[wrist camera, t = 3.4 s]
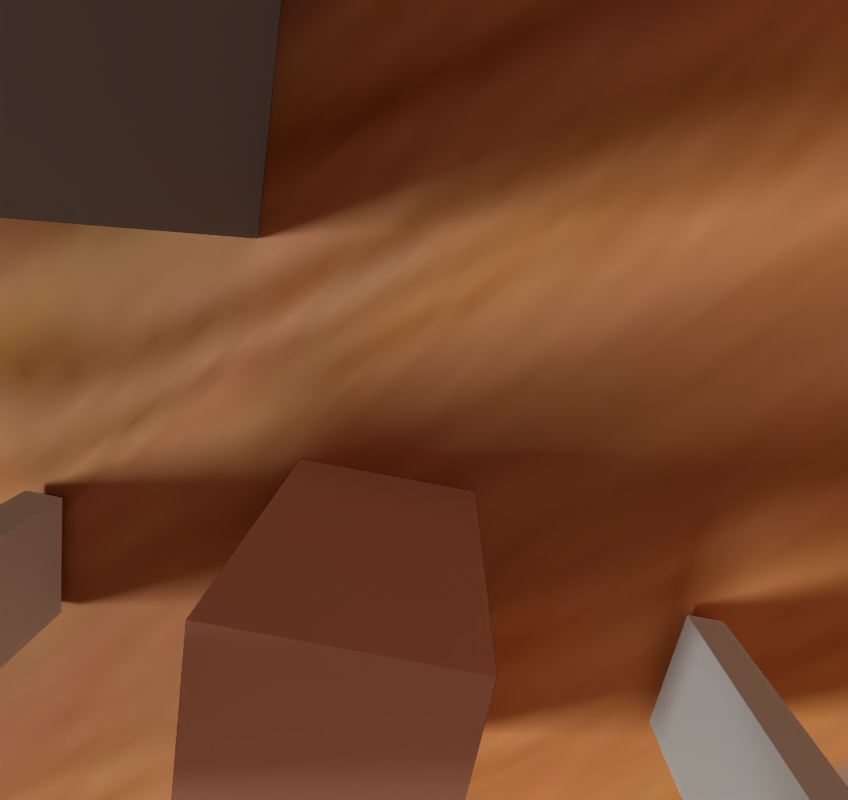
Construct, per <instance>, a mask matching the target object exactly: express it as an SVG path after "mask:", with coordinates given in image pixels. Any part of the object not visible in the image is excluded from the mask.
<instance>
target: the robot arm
mask: <svg viewBox="0 0 848 800" xmlns="http://www.w3.org/2000/svg"><path fill="white" fill-rule="evenodd" d="M61 566H62V498H61V497H56V496H51V495H45V494H40V493H35V492H29V491H24V492H22V493H20V494H19V495H17V496H15V497H13V498H11V499H10V500H8V501H6V502H4V503H2V504H1V505H0V668H1V667H2V666H3V665H4V664H6V663H7V662H8V661H9V660H10V659H11V658H12V657H13V656H14V655H15V654H16V653H17V652H19V651H20V650H21V649H22V648H23V647H24V646H25V645H26V644H27V643H28V642H29V641H30V640H32V639H33V638H34V637H35V636H36V635H37V634H38V633H39V632H40V631H41V630H42V629H44V628H45V627H46V626H47V625H48V624H49V623H50V622H51V621H52V620H53V619H54V618H55V617H57V616H58V615H59V614H60V613H61ZM649 723H650V726H651V728H652V730H653V733H654V735H655V737H656V740H657V742H658V744H659V747H660V749H661V751H662V754H663V756H664V758H665V761H666V763H667V765H668V768H669V770H670V772H671V775H672V777H673V779H674V782H675V784H676V786H677V789H678V791H679V793H680V796H681V798H682V800H848V787H847V785H846V784H845V783H844V781H843V780H842V779H841V777H840V776H839V775H838V773H837V772H836V771H835V769H834V768H833V767H832V765H831V764H830V763H829V761H828V760H827V759H826V757H825V756H824V755H823V753H822V752H821V751H820V749H819V748H818V746H817V745H816V744H815V742H814V741H813V740H812V738H811V737H810V736H809V734H808V733H807V732H806V730H805V729H804V728H803V726H802V725H801V724H800V722H799V721H798V720H797V718H796V717H795V716H794V714H793V713H792V712H791V710H790V709H789V708H788V706H787V705H786V704H785V702H784V701H783V700H782V698H781V697H780V696H779V694H778V693H777V692H776V690H775V689H774V688H773V686H772V685H771V684H770V682H769V681H768V680H767V678H766V677H765V676H764V674H763V673H762V672H761V670H760V669H759V668H758V666H757V665H756V664H755V662H754V661H753V660H752V658H751V657H750V656H749V654H748V653H747V652H746V650H745V649H744V648H743V646H742V645H741V644H740V642H739V641H738V640H737V638H736V637H735V636H734V634H733V633H732V632H731V630H730V629H729V628H728V626H727V625H726V624H725V622H723V621H718V620H713V619H707V618H702V617H697V616H691V615H687V617H686V620H685V623H684V626H683V628H682V631H681V634H680V637H679V640H678V642H677V645H676V648H675V651H674V654H673V656H672V659H671V662H670V665H669V668H668V670H667V673H666V676H665V679H664V682H663V684H662V687H661V690H660V693H659V696H658V698H657V701H656V704H655V707H654V710H653V712H652V715H651V718H650V721H649Z"/></svg>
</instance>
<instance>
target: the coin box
mask: <svg viewBox="0 0 848 800" xmlns="http://www.w3.org/2000/svg"><path fill="white" fill-rule="evenodd" d="M280 9H281V0H0V218H11V219H23V220H36V221H48V222H60V223H72V224H85V225H97V226H109V227H122V228H134V229H146V230H159V231H171V232H183V233H196V234H208V235H220V236H232V237H245V238H257V239H258V230H259V220H260V210H261V199H262V189H263V179H264V169H265V159H266V149H267V139H268V129H269V119H270V109H271V99H272V89H273V79H274V69H275V59H276V49H277V39H278V29H279V19H280Z"/></svg>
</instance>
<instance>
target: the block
mask: <svg viewBox="0 0 848 800" xmlns="http://www.w3.org/2000/svg"><path fill="white" fill-rule="evenodd" d="M496 680H497V670H496V662H495V654H494V645H493V637H492V629H491V621H490V612H489V604H488V596H487V587H486V579H485V571H484V562H483V554H482V546H481V537H480V529H479V521H478V512H477V504H476V496H475V491H469V490H464V489H459V488H453V487H448V486H443V485H437V484H432V483H427V482H421V481H416V480H411V479H405V478H400V477H395V476H389V475H384V474H378V473H373V472H368V471H362V470H357V469H352V468H346V467H341V466H336V465H330V464H325V463H320V462H314V461H309V460H304V459H300V460H299V461H298V463H297V464H296V466H295V467H294V468H293V470H292V471H291V473H290V474H289V475H288V477H287V478H286V480H285V481H284V482H283V484H282V485H281V487H280V488H279V489H278V491H277V492H276V494H275V495H274V497H273V498H272V499H271V501H270V502H269V504H268V505H267V506H266V508H265V509H264V511H263V512H262V513H261V515H260V516H259V518H258V519H257V520H256V522H255V523H254V525H253V526H252V528H251V529H250V530H249V532H248V533H247V535H246V536H245V537H244V539H243V540H242V542H241V543H240V544H239V546H238V547H237V549H236V550H235V551H234V553H233V554H232V556H231V557H230V558H229V560H228V561H227V563H226V564H225V566H224V567H223V568H222V570H221V571H220V573H219V574H218V575H217V577H216V578H215V580H214V581H213V582H212V584H211V585H210V587H209V588H208V589H207V591H206V592H205V594H204V595H203V596H202V598H201V599H200V601H199V602H198V604H197V605H196V606H195V608H194V609H193V611H192V612H191V613H190V615H189V616H188V618H187V619H186V624H185V637H184V649H183V662H182V674H181V686H180V699H179V711H178V723H177V736H176V748H175V760H174V773H173V785H172V797H171V800H465V798H466V794H467V790H468V787H469V783H470V779H471V775H472V771H473V767H474V764H475V760H476V756H477V752H478V748H479V745H480V741H481V737H482V733H483V729H484V726H485V722H486V718H487V714H488V710H489V707H490V703H491V699H492V695H493V691H494V688H495V684H496Z"/></svg>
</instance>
